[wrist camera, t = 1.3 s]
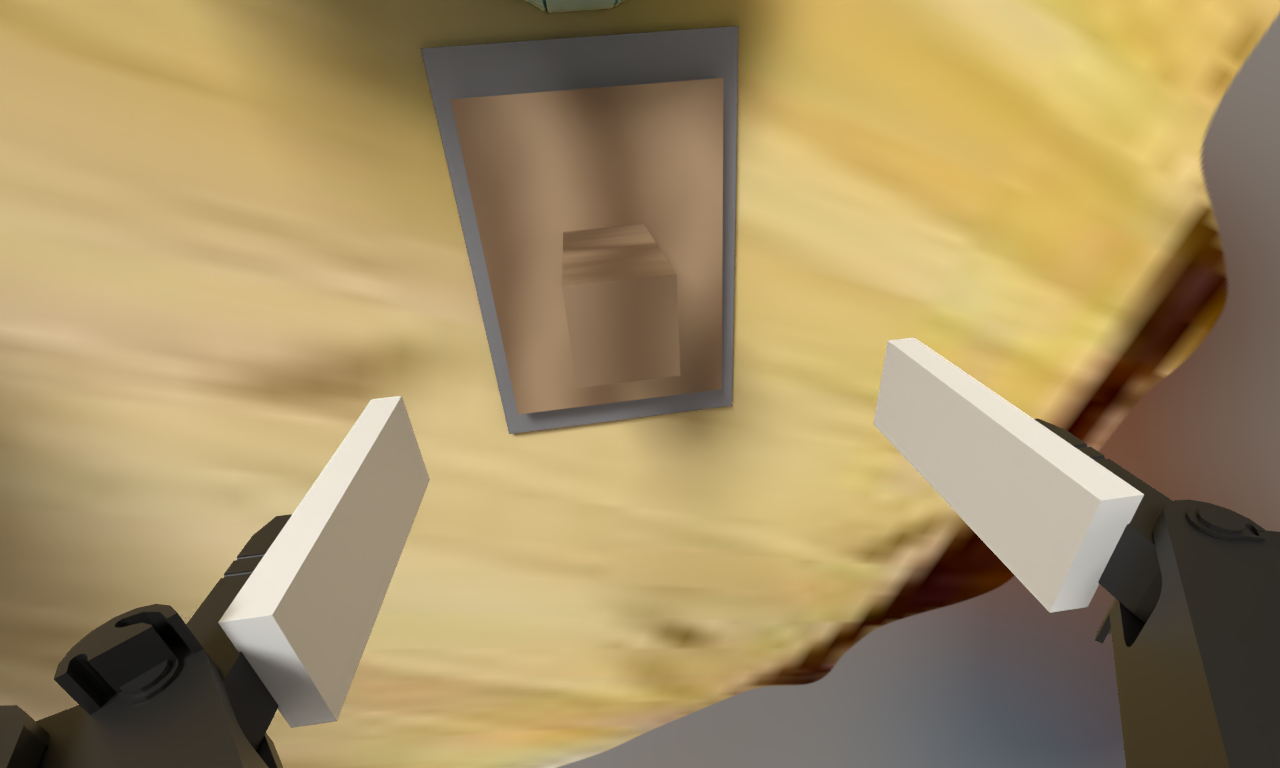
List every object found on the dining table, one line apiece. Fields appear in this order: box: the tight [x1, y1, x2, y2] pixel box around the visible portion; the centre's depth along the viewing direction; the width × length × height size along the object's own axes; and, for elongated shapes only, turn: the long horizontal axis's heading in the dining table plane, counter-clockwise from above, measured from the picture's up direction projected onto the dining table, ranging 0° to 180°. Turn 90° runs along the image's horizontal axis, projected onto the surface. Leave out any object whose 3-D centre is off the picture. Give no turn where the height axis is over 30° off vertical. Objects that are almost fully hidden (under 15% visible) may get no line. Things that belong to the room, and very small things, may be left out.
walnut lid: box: [450, 78, 723, 414], centre depth 23 cm, size 12×16×10 cm
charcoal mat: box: [421, 26, 738, 434], centre depth 28 cm, size 14×20×1 cm
